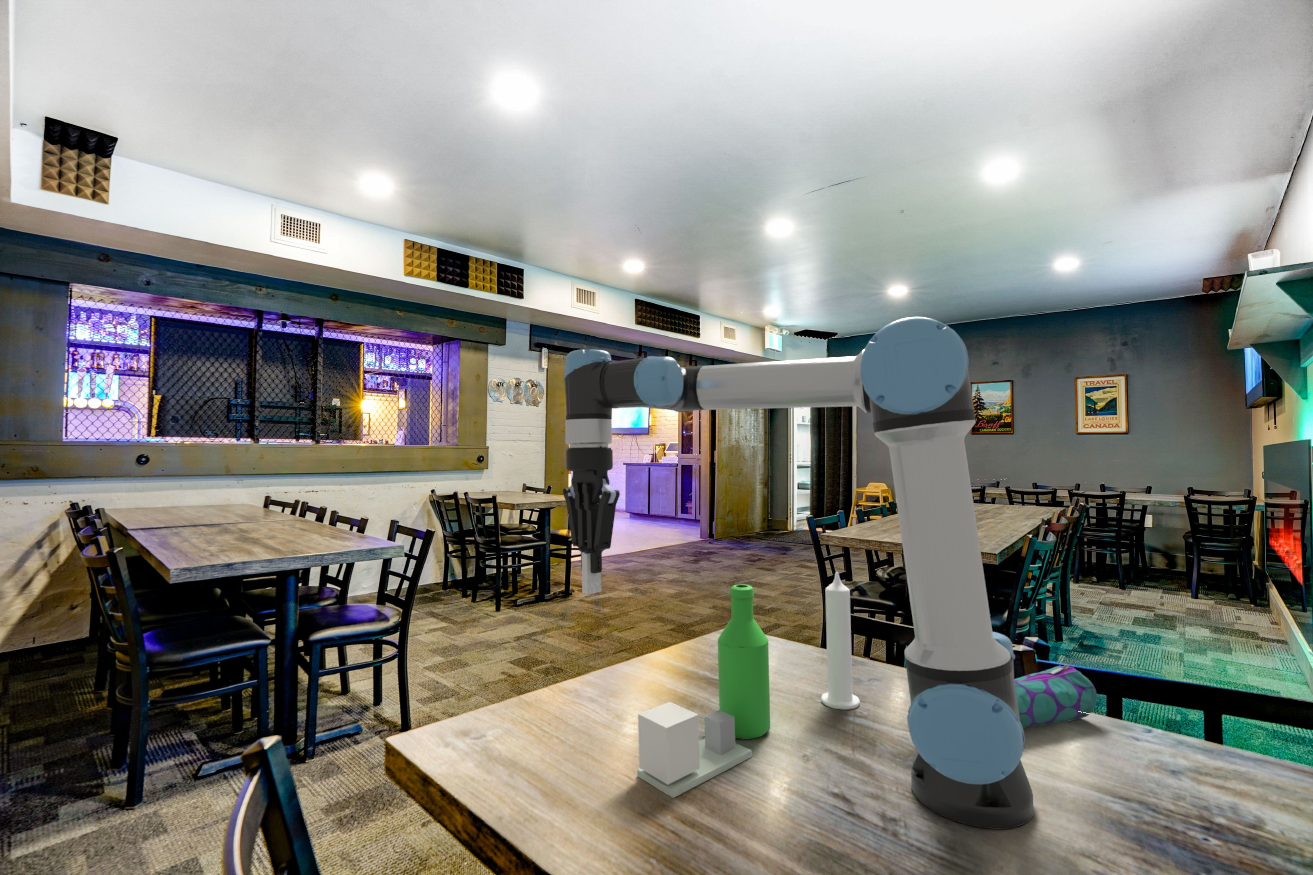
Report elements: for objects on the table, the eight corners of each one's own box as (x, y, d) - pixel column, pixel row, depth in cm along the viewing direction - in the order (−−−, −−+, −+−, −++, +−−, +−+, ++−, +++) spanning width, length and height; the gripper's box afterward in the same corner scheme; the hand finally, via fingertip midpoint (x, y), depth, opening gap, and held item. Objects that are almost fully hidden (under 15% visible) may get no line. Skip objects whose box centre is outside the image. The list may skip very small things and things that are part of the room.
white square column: (699, 768, 91) (698, 714, 91) (667, 784, 87) (666, 727, 87) (670, 753, 96) (669, 701, 96) (639, 767, 92) (638, 713, 92)
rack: (751, 756, 98) (750, 718, 98) (673, 797, 86) (672, 755, 87) (715, 739, 104) (714, 703, 104) (637, 775, 92) (636, 735, 93)
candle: (863, 699, 119) (860, 570, 119) (854, 712, 113) (850, 576, 113) (827, 692, 123) (824, 567, 123) (816, 704, 117) (813, 573, 117)
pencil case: (1052, 705, 115) (1050, 653, 115) (1099, 725, 106) (1097, 669, 106) (964, 722, 108) (962, 667, 109) (1006, 745, 100) (1004, 685, 100)
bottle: (769, 743, 102) (766, 592, 102) (717, 739, 104) (714, 591, 104) (770, 720, 111) (767, 581, 111) (722, 716, 112) (719, 580, 113)
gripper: (632, 445, 97) (635, 595, 96) (585, 446, 107) (588, 582, 106) (593, 445, 92) (596, 603, 91) (548, 447, 102) (550, 589, 101)
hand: (591, 592), depth 99 cm, fingers closed
